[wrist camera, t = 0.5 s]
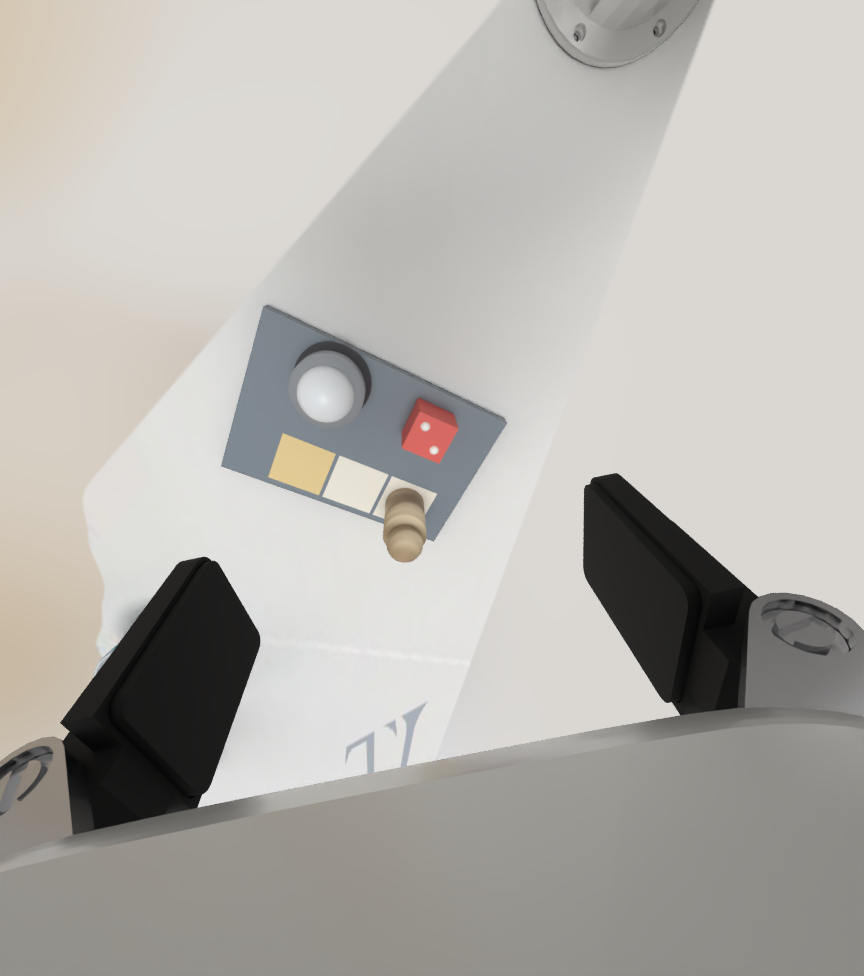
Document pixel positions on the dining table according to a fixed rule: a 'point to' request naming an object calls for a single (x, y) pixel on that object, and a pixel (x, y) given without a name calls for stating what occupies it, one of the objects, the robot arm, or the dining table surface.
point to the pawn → (404, 524)
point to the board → (355, 431)
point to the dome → (327, 389)
